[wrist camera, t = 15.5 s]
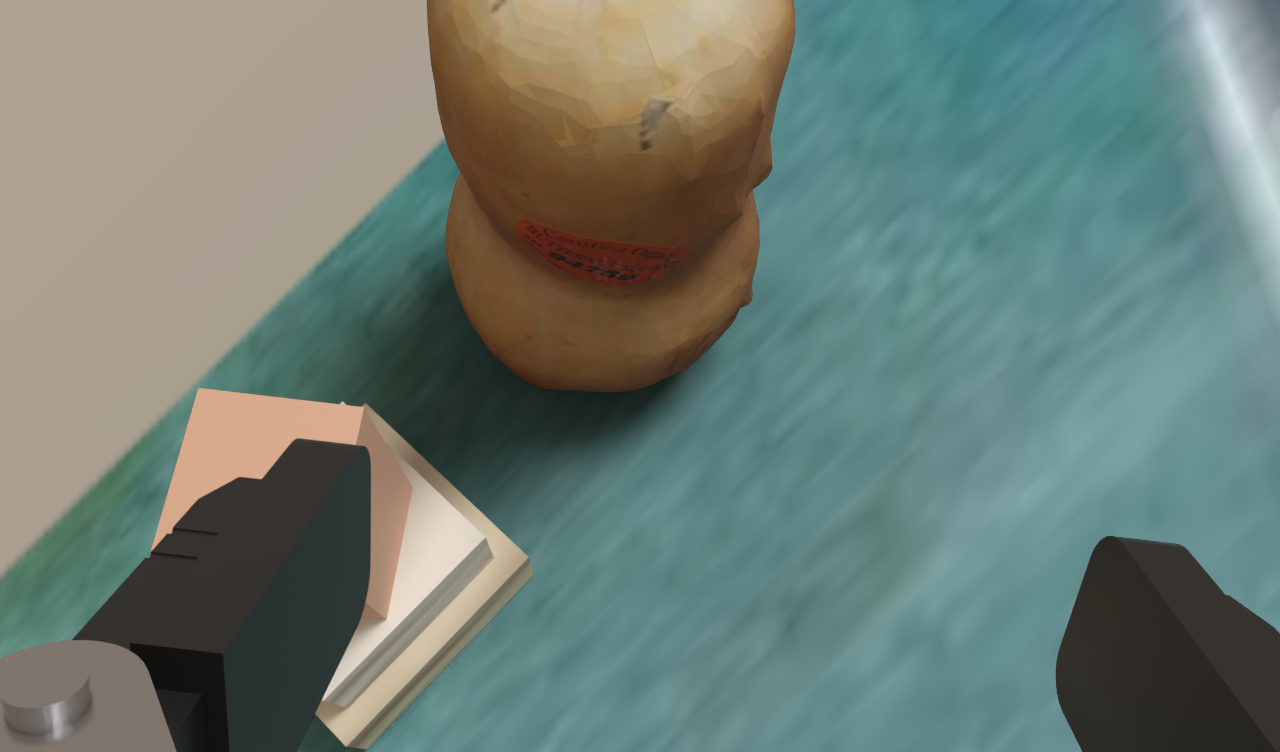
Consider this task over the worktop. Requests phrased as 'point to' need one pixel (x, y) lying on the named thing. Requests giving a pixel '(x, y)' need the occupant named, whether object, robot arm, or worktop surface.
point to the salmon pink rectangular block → (254, 440)
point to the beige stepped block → (422, 602)
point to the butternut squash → (606, 176)
